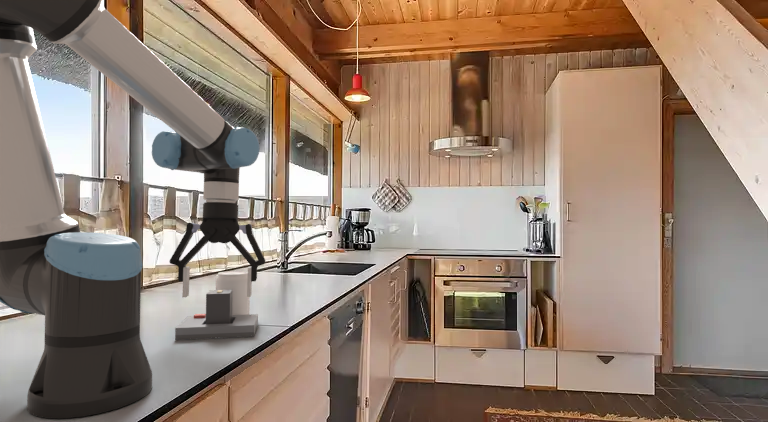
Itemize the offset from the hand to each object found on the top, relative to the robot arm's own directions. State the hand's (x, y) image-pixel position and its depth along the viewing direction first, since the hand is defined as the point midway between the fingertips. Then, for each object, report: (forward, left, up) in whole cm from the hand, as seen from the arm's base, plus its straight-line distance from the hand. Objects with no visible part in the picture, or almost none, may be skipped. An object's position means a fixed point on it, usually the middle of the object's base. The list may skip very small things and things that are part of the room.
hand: (217, 296), depth 102 cm
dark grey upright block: (0, 0, -7) cm, 7 cm away
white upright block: (+11, -2, -8) cm, 14 cm away
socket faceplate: (0, 0, -8) cm, 8 cm away
